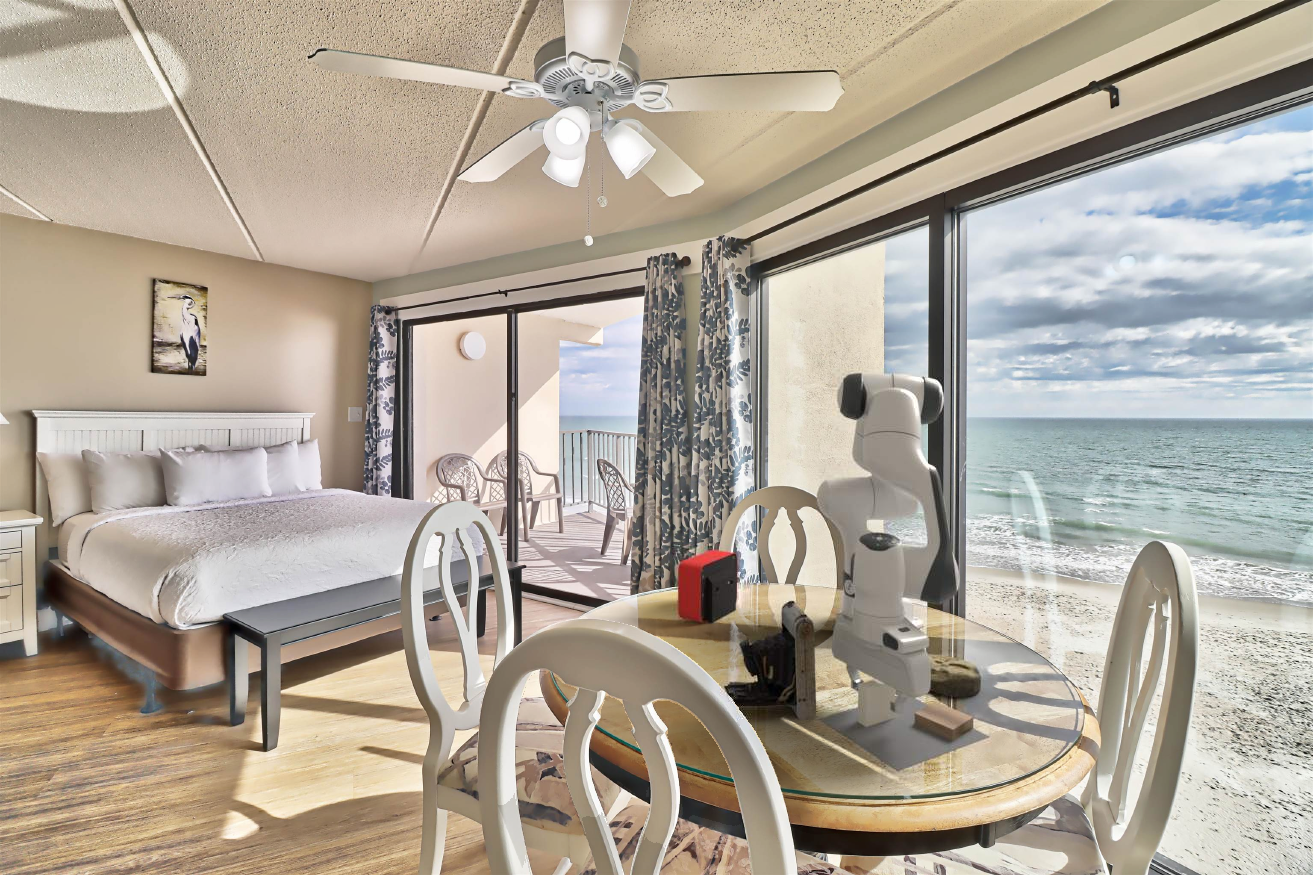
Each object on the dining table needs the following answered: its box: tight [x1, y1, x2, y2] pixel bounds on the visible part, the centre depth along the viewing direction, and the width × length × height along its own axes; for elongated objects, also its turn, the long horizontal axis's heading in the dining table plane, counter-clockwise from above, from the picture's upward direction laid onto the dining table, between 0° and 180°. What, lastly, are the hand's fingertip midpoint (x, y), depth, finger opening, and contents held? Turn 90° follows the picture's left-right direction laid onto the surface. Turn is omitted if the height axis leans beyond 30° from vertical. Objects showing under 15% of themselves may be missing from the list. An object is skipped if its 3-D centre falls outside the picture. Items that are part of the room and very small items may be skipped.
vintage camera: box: [723, 600, 817, 721], centre depth 116 cm, size 10×16×20 cm, turn 95°
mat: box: [819, 695, 990, 772], centre depth 110 cm, size 22×18×1 cm
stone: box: [927, 653, 982, 698], centre depth 128 cm, size 13×13×5 cm
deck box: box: [857, 678, 896, 727], centre depth 113 cm, size 7×2×7 cm, turn 117°
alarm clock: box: [677, 549, 738, 624], centre depth 171 cm, size 10×20×16 cm, turn 144°
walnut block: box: [914, 701, 975, 741], centre depth 111 cm, size 7×7×2 cm
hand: (876, 700), depth 113 cm, fingers open, 8 cm apart
